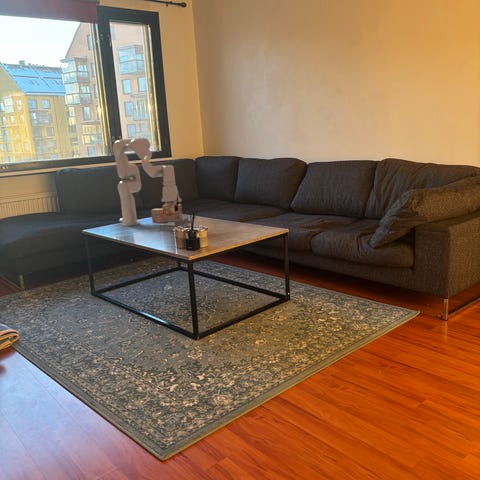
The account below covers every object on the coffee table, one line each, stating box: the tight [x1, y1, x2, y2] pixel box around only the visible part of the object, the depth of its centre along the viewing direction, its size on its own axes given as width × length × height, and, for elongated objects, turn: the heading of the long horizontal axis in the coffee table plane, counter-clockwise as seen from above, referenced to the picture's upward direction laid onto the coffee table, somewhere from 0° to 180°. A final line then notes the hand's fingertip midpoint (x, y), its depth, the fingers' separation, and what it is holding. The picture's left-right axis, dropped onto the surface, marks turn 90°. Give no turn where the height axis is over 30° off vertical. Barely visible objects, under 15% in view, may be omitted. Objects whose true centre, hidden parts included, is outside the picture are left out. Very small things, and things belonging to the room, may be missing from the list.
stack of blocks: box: [150, 203, 184, 223], centre depth 353 cm, size 21×6×12 cm, turn 78°
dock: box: [157, 217, 189, 232], centre depth 328 cm, size 14×16×6 cm
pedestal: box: [166, 202, 179, 215], centre depth 325 cm, size 6×6×7 cm
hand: (172, 211), depth 326 cm, fingers closed on pedestal, 5 cm apart
